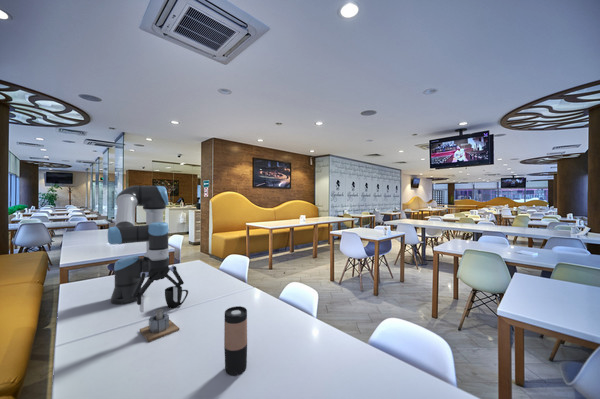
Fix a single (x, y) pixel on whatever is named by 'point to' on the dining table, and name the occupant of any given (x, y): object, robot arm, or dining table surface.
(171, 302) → the mug
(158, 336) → the shaft stand
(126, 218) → the robot arm
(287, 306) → the dining table surface
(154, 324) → the ring
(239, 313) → the travel mug
